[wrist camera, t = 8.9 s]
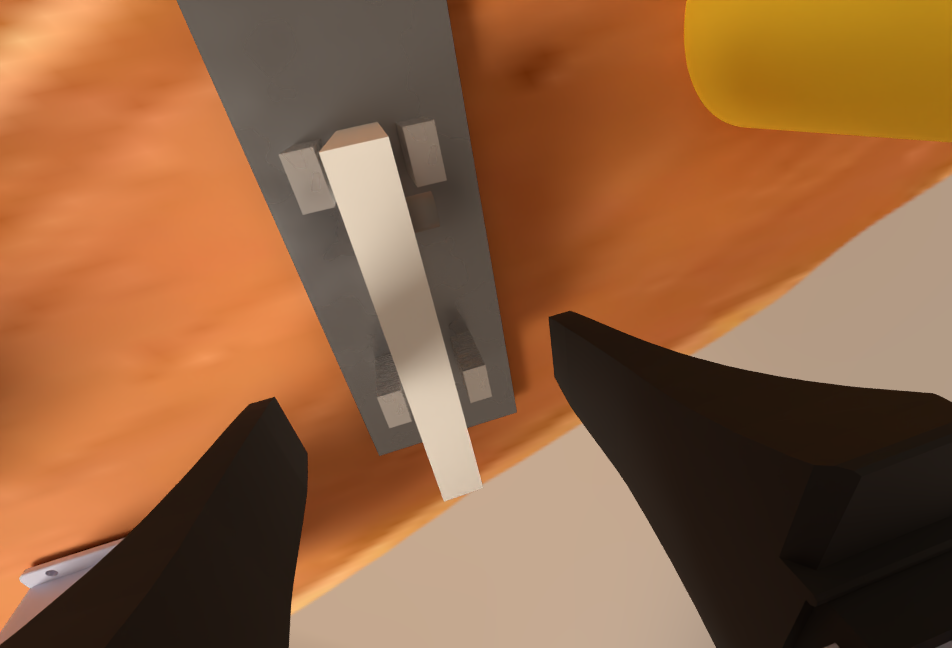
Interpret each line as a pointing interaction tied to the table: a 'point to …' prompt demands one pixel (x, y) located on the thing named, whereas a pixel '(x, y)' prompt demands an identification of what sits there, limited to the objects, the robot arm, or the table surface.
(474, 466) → the cabinet door
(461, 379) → the rail
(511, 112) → the table surface
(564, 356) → the robot arm
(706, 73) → the tape roll
